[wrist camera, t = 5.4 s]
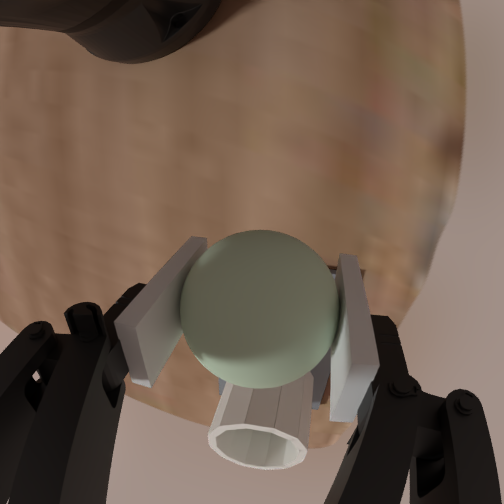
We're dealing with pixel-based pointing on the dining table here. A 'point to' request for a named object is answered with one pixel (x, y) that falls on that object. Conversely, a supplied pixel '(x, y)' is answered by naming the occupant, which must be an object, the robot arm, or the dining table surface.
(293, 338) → the sage ball
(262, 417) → the tube stand
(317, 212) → the dining table surface
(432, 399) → the robot arm
